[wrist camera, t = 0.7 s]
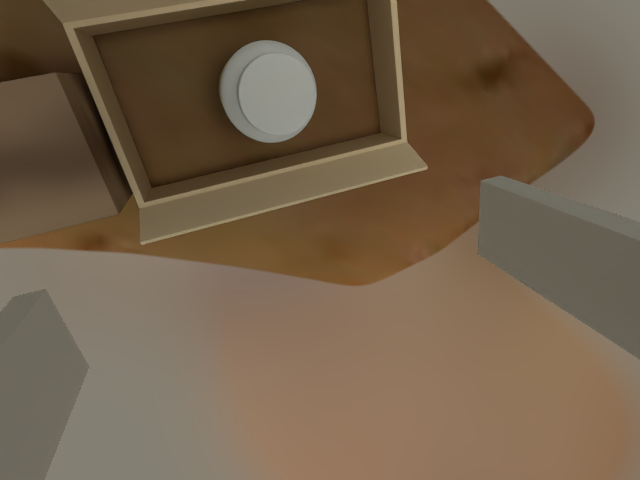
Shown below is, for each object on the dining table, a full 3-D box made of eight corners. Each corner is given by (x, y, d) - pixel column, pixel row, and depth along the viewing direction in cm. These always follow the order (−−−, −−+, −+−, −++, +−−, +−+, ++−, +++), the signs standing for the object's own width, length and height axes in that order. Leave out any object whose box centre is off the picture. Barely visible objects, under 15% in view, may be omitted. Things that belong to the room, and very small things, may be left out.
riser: (-38, 98, 27) (-124, 104, 20) (93, 74, 29) (55, 72, 22) (26, 212, 31) (-27, 250, 24) (137, 185, 33) (118, 214, 25)
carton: (71, 3, 27) (24, -24, 20) (368, -42, 31) (415, -78, 24) (154, 211, 34) (141, 245, 27) (387, 153, 38) (427, 169, 31)
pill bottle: (304, 71, 33) (349, 66, 22) (277, 141, 34) (307, 166, 24) (232, 34, 30) (246, 9, 20) (207, 111, 32) (206, 125, 22)
